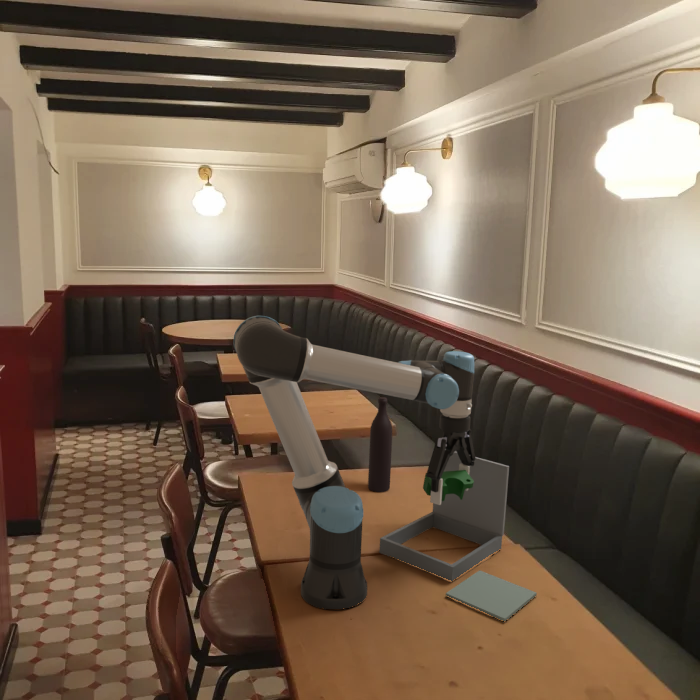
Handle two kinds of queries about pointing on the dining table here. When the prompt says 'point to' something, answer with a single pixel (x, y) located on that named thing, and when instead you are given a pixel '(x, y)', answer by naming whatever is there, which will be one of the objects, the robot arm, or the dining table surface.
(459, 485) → the clamp
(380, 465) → the wine bottle
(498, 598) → the mat
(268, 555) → the dining table surface
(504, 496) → the case
